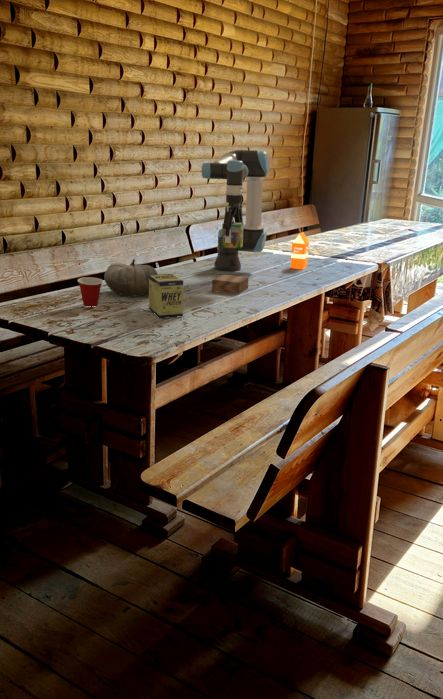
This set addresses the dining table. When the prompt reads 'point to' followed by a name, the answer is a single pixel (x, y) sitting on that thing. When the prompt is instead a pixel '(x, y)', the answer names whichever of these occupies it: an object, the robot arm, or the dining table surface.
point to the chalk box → (234, 236)
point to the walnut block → (230, 284)
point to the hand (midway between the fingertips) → (232, 241)
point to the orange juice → (300, 252)
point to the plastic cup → (90, 290)
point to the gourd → (129, 278)
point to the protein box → (166, 295)
